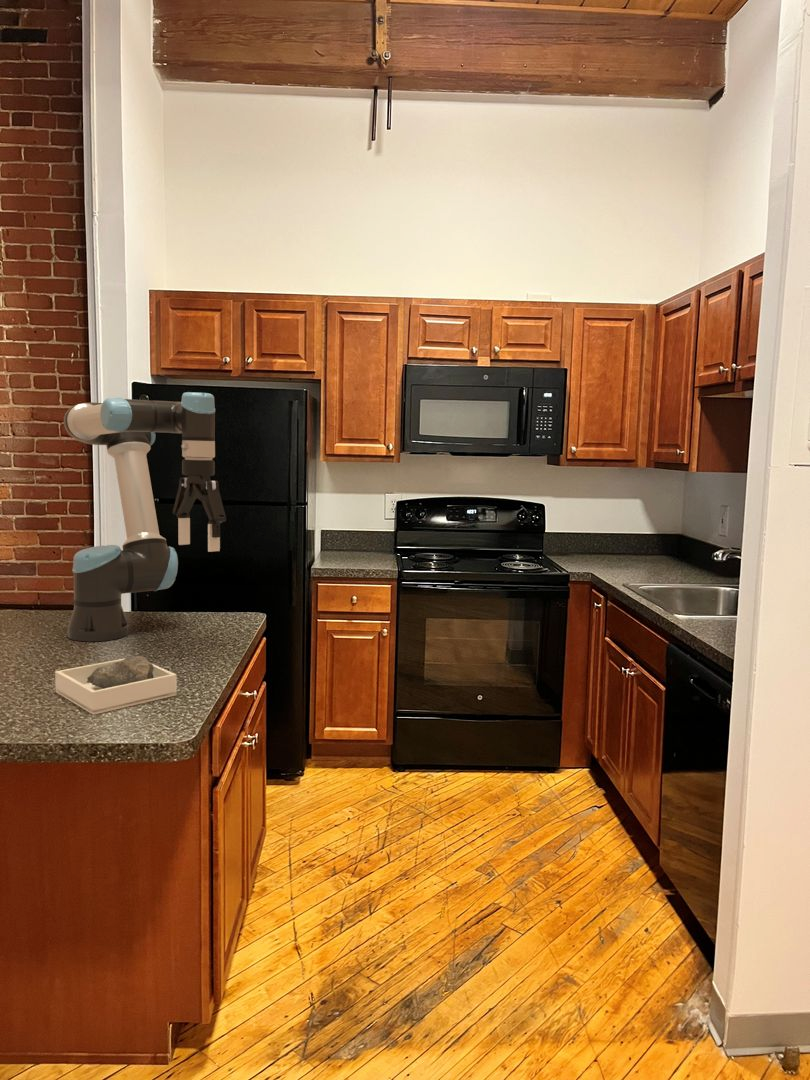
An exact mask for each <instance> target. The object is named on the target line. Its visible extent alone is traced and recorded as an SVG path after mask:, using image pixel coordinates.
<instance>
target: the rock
mask: <svg viewBox="0 0 810 1080" xmlns="http://www.w3.org/2000/svg"><path fill="white" fill-rule="evenodd" d="M123 659H124V658H123ZM153 664H154V663H152V662H150V661H149V660H148V659H147V658H146V657H144V656H142V655H137V656H136V655H135V656H128V657H125V659H124V660H121V661H118V662H112V663H110V664H107V665H104V666H100V667H98V668H97V669H96V670H95V671H94V672H93V673H92V674H91V675H90V676H89V677H88V678H87V679H88V681H87V682H88V683H92V685H95V686H98V687H101V688H102V689H105V688H110V687H114V686H119V685H124V684H128V683H133V682H138V681H143V680H147V679H152V678H154V677H153V670H154V668H153Z"/></svg>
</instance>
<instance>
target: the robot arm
mask: <svg viewBox="0 0 810 1080" xmlns="http://www.w3.org/2000/svg"><path fill="white" fill-rule="evenodd" d="M215 405H216V404H215V396H214V395H213V394H211V393H208V392H192V391H191V392H190V391H187V392H183V393H182V395H181V401H170V400H169V401H168V400H152V399H151V400H150V399H149V400H148V399H147V400H146V399H134V398H133V399H131V398H130V399H129V398H122V397H115V398H109V397H108V398H105V399H104V400H103V402H93V401H92V402H83V403H77V404H75V405H74V404H73V405H72V406H71V407H69V408H68V410H67V411H66V412H65V413H64V417H63V425H64V429H65V431H66V432H67V434H68V435H69V436H70V437H71V438H73V439H74V440H76V441H78V442H80V443H84V444H86V445H87V444H88V445H94V446H96V445H97V446H106V451H107V454H108V455H109V456H110V457H112V458H113V459H114V464H115V471H116V478H117V482H118V483H117V484H118V488H119V489H118V490H119V496H120V502H121V503H120V504H121V508H122V515H123V521H124V522H123V523H124V528H125V535H126V540H125V541H124V543H123V544H122V546H121V547H122V548H121V547H120V545H116V544H109V545H107V544H106V545H95V546H91V547H86V548H83V549H80V550H79V551H77V552H76V553H75V554H74V556H73V564H72V569H71V570H72V575H73V580H72V581H73V610H72V614H71V616H70V619H69V622H68V625H67V638H68V639H69V640H73V641H78V642H106V641H111V640H116V639H120V638H124V637H126V636H127V635H129V633H130V631H129V629H130V628H129V622H128V620H127V617H126V615H125V611H124V609H123V606H122V594H123V595H124V594H132V593H133V594H134V593H142V592H150V591H151V592H152V591H153V592H157V591H159V590H160V591H161V590H166V589H169V588H170V587H172V586H173V584H174V582H175V581H176V577H177V574H178V568H179V567H178V566H179V559H178V558H179V557H178V554H177V551H176V549H175V548H174V547H172V546H168V544H167V539H166V538H165V537H163V536H162V535H160V530H159V525H158V519H157V518H158V517H157V513H156V511H157V510H156V507H155V500H154V494H153V489H152V482H151V476H150V470H149V464H148V458H147V454H148V453H149V452H150V450H151V449H152V448H151V446H152V445H153V444H154V443H155V441H156V433H163V434H164V433H166V434H167V433H170V434H181V445H180V447H181V451H182V452H181V453H182V454H181V456H182V457H183V458H184V459H182V461H181V474H182V475H183V476H186V477H180V478H179V479H178V481H179V482H178V489H177V493H176V497H175V502H174V506H173V509H172V514H173V515H176V517H177V519H178V520H177V521H178V524H177V526H178V529H177V530H178V531H177V532H178V536H177V537H178V541H177V542H178V545H179V546H184V545H185V546H186V545H190V544H191V518H190V517H191V515H190V513H191V510H192V508H193V506H194V503H195V501H196V500H197V499H198V500H199V501H200V502H201V504H202V506H203V508H204V511H205V513H206V515H207V516H206V517H207V518H208V522H207V552H208V553H209V552H211V553H212V552H220V549H221V524H222V523H223V522H226V521H227V515H226V512H225V509H224V505H223V501H222V500H223V499H222V496H221V493H220V488H219V487H220V485H219V481H218V480H211V477H213V476H215V474H216V470H215V468H216V465H215V463H216V462H215V459H214V458H215V457H216V441H215V439H216V438H215V437H216V436H215V432H216V421H215V420H216V408H215V407H216V406H215ZM213 459H214V460H213Z"/></svg>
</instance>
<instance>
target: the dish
mask: <svg viewBox="0 0 810 1080" xmlns="http://www.w3.org/2000/svg"><path fill="white" fill-rule="evenodd" d="M125 658H126V657H125ZM125 658H121V659H115V660H114V659H113V660H108V661H104V662H103V661H102V662H99V663H93V664H88V665H83V666H77V667H72V668H67V669H62V670H55V671H54V677H55V678H54V681H55V682H54V683H55V684H54V685H55V693H56V694H58V695H60V696H61V697H63V698H65V699H66V700H67V701H69V702H71V703H73V704H75V705H76V706H78V707H80V708H81V709H82V710H84V711H85V712H88V713H90V714H91V715H98V714H99V715H100V714H102V713H106V712H107V713H108V712H111V711H116V710H119V709H124V708H128V707H132V706H136V705H141V704H145V703H149V702H154V701H158V700H161V699H166V698H171V697H175V696H178V692H177V691H178V690H177V689H178V688H177V681H178V680H177V679H178V677H177V674H176V673H174V672H171V671H170V670H167V669H166V668H163V667H161V666H158V665H156V664H154V663H152V664H153V668H154V670H153V677H154V678H152V679H147V680H143V681H138V682H133V683H128V684H124V685H119V686H114V687H110V688H105V689H102V688H101V687H98V686H95V685H92V683H88V682H87V681H88V679H87V678H88V677H89V676H90V675H91V674H92V673H93V672H94V671H95V670H96V669H97V668H98V667H100V666H104V665H107V664H110V663H112V662H118V661H121V660H124V659H125Z"/></svg>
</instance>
